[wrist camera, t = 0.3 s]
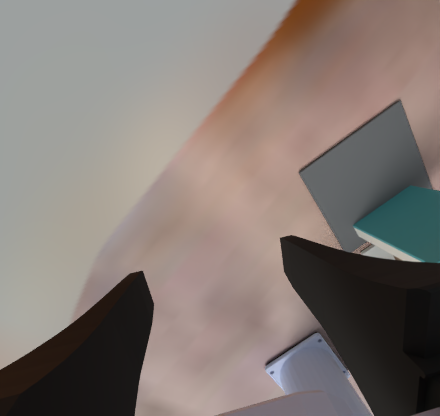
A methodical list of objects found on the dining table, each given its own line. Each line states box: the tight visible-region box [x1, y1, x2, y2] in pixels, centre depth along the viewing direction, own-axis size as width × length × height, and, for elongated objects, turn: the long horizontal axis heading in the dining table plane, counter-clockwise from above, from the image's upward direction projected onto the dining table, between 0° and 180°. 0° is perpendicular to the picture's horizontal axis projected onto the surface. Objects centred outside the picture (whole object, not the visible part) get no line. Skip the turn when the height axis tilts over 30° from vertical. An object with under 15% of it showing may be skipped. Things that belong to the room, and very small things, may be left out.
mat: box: [299, 101, 433, 253], centre depth 22 cm, size 11×11×1 cm
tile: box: [353, 185, 440, 263], centre depth 19 cm, size 2×7×8 cm, turn 125°
